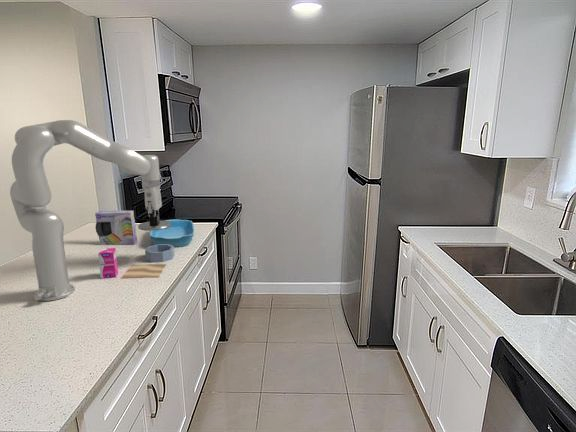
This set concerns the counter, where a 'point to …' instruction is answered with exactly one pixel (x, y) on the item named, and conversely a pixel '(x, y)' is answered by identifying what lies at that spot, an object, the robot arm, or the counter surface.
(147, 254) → the bowl
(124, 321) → the counter surface
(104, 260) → the supplement box
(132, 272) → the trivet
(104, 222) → the cake pan box
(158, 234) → the casserole dish
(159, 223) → the lid
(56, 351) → the counter surface
